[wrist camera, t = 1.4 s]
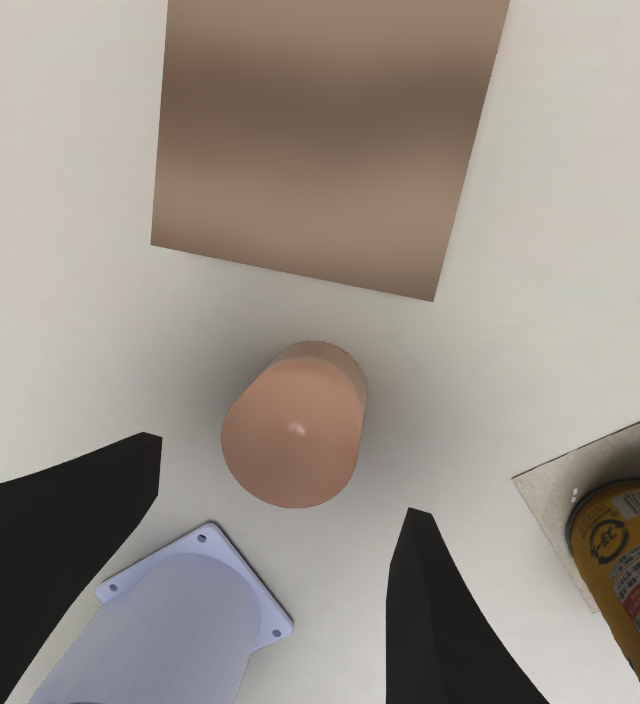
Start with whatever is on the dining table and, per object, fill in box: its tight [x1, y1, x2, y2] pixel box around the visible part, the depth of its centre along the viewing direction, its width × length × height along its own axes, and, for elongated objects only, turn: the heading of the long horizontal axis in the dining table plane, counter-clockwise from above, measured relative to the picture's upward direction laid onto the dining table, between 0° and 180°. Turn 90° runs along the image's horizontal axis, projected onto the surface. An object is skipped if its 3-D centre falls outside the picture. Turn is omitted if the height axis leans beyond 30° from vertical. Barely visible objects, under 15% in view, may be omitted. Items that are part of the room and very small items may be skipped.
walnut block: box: [151, 0, 510, 302], centre depth 17 cm, size 11×11×4 cm
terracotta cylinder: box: [221, 341, 367, 508], centre depth 19 cm, size 5×5×6 cm
